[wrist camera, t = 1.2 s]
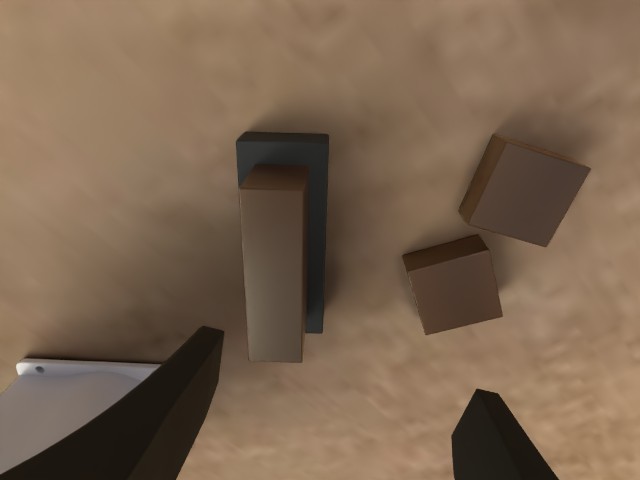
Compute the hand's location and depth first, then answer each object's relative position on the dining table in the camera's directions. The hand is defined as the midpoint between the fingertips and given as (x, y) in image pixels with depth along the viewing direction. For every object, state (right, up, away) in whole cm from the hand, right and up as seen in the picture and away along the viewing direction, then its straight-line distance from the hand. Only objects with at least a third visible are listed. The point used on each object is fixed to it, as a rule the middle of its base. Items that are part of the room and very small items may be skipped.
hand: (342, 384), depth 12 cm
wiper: (-2, +5, +10) cm, 12 cm away
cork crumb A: (+6, +2, +11) cm, 13 cm away
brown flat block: (+9, +7, +9) cm, 14 cm away
